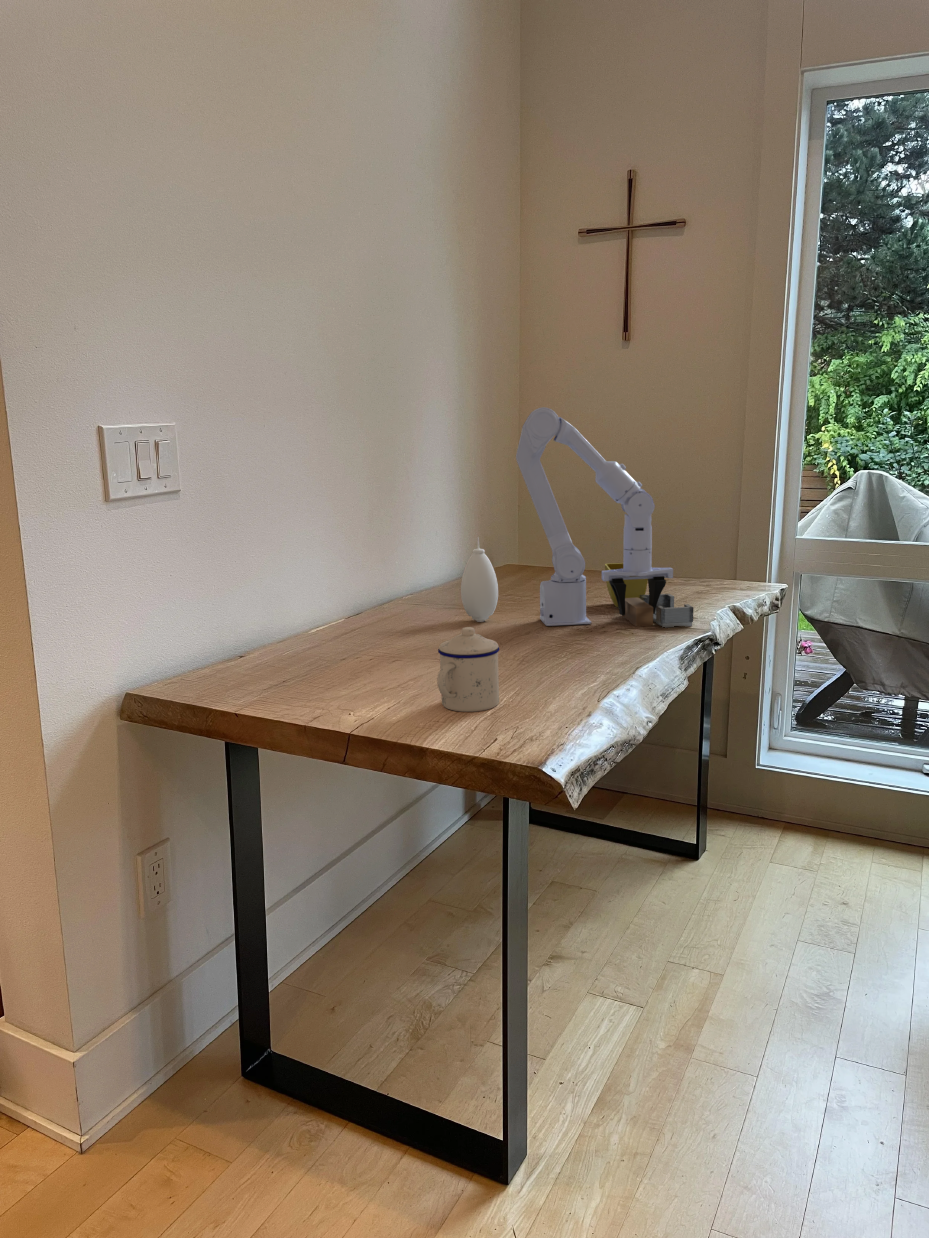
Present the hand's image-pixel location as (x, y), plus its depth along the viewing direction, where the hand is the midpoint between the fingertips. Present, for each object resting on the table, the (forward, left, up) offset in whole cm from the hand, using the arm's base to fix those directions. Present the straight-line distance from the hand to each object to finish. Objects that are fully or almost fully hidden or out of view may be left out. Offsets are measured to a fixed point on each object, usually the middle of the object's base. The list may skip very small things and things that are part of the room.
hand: (637, 613), depth 194 cm
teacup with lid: (-41, -53, -2) cm, 67 cm away
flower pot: (+2, +16, -2) cm, 16 cm away
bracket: (+6, 0, -1) cm, 6 cm away
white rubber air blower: (-32, +7, -2) cm, 33 cm away
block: (0, 0, -2) cm, 2 cm away
